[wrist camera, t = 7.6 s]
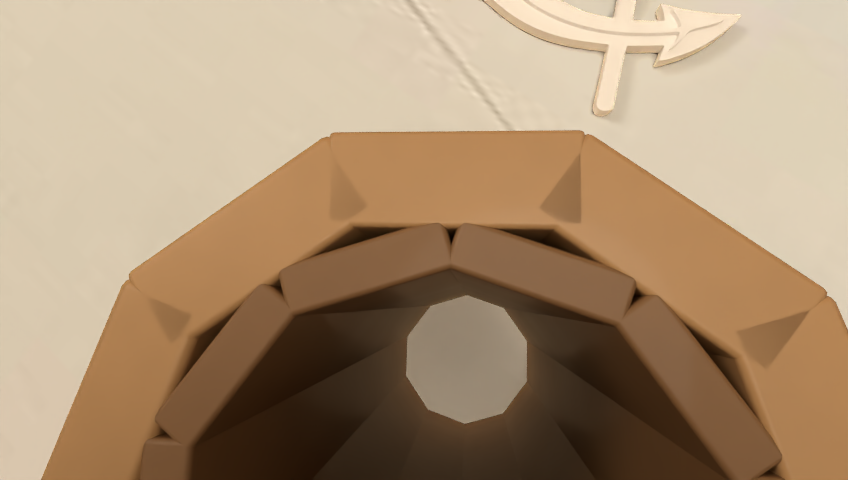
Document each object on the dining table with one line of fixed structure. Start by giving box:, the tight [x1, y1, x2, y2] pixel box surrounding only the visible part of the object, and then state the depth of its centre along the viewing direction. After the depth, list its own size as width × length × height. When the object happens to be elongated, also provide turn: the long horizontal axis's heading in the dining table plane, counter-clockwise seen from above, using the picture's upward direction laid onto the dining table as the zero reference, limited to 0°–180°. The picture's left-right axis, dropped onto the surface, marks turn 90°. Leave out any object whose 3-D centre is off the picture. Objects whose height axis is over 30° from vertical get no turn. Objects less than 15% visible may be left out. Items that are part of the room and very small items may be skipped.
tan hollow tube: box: [41, 130, 848, 480], centre depth 10 cm, size 7×7×13 cm
